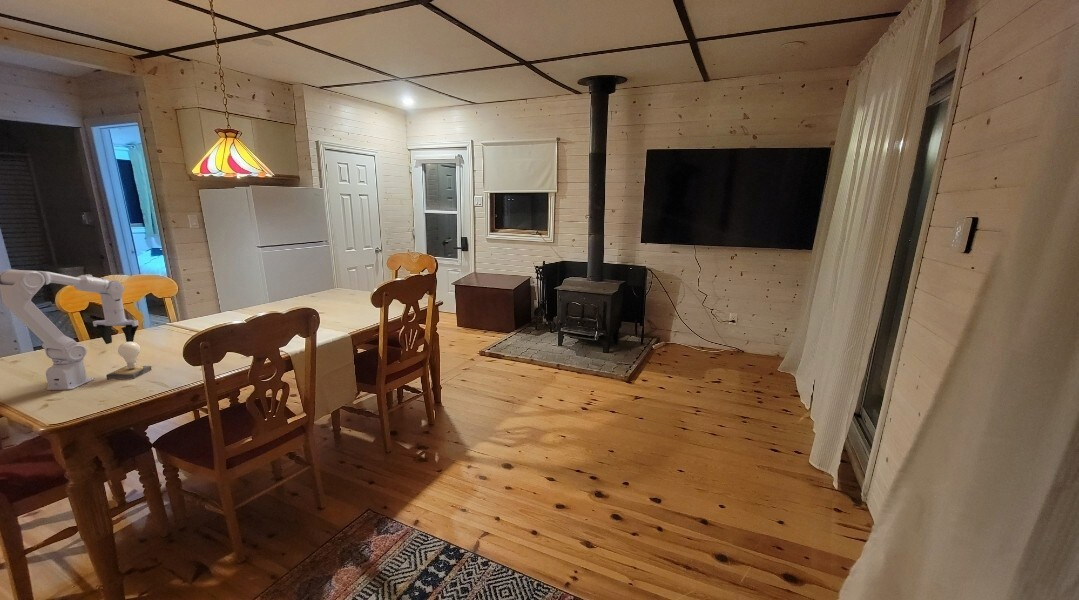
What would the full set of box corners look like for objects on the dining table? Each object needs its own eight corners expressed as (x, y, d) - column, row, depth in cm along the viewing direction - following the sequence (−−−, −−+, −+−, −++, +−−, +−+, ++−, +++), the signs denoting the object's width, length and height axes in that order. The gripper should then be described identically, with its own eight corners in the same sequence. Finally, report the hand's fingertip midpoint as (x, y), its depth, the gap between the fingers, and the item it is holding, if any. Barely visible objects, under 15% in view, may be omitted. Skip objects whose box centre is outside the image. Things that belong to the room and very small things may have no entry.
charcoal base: (133, 378, 162) (132, 373, 161) (107, 379, 160) (106, 374, 160) (151, 370, 170) (150, 365, 170) (126, 370, 169) (125, 365, 169)
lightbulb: (142, 364, 170) (137, 338, 168) (144, 368, 166) (140, 342, 164) (120, 368, 166) (115, 341, 163) (122, 373, 161) (117, 345, 159)
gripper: (142, 307, 171) (147, 340, 174) (101, 307, 169) (107, 340, 172) (128, 312, 165) (133, 345, 167) (85, 312, 163) (92, 345, 165)
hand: (119, 343), depth 169 cm, fingers open, 7 cm apart
